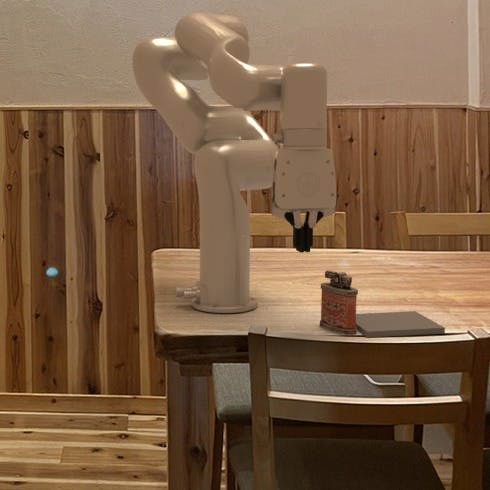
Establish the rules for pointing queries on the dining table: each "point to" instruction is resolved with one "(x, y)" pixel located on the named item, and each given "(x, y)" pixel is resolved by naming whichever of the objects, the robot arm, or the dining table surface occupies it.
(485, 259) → the dining table surface
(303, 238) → the robot arm
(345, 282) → the lighter
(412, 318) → the mat
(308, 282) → the dining table surface
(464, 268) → the dining table surface
